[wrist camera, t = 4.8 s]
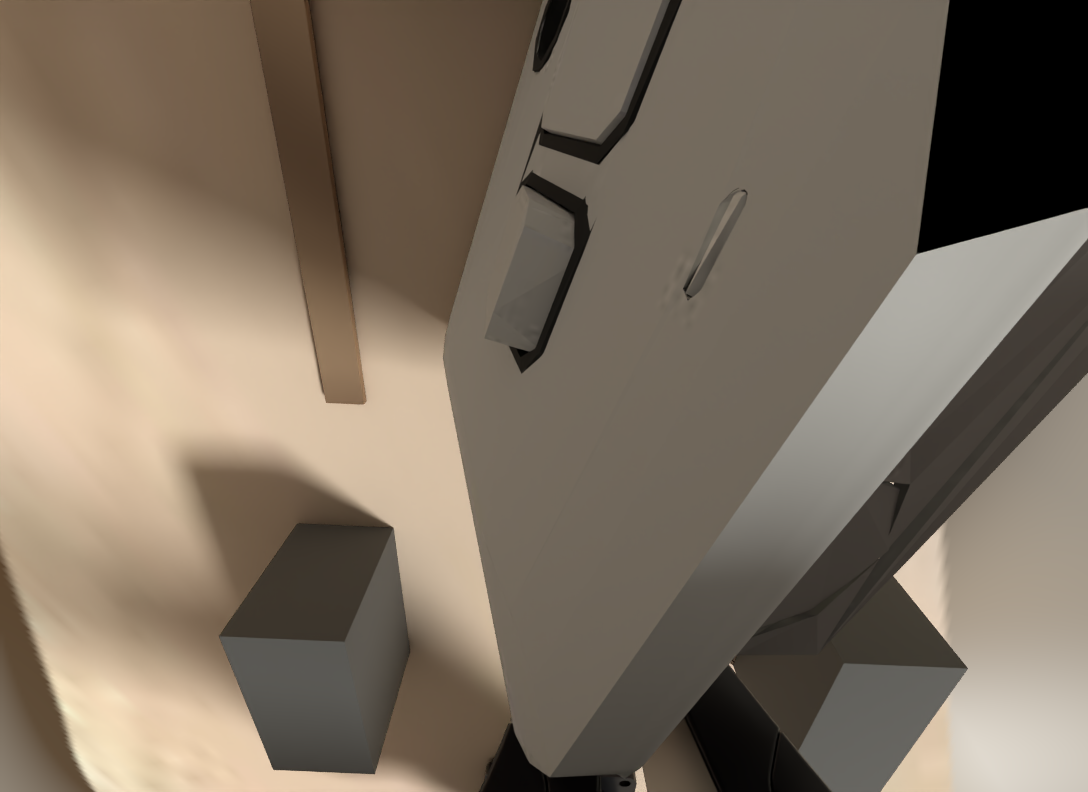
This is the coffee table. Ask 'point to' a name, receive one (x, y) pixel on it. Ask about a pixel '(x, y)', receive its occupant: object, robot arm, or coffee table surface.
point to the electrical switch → (752, 329)
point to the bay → (310, 189)
